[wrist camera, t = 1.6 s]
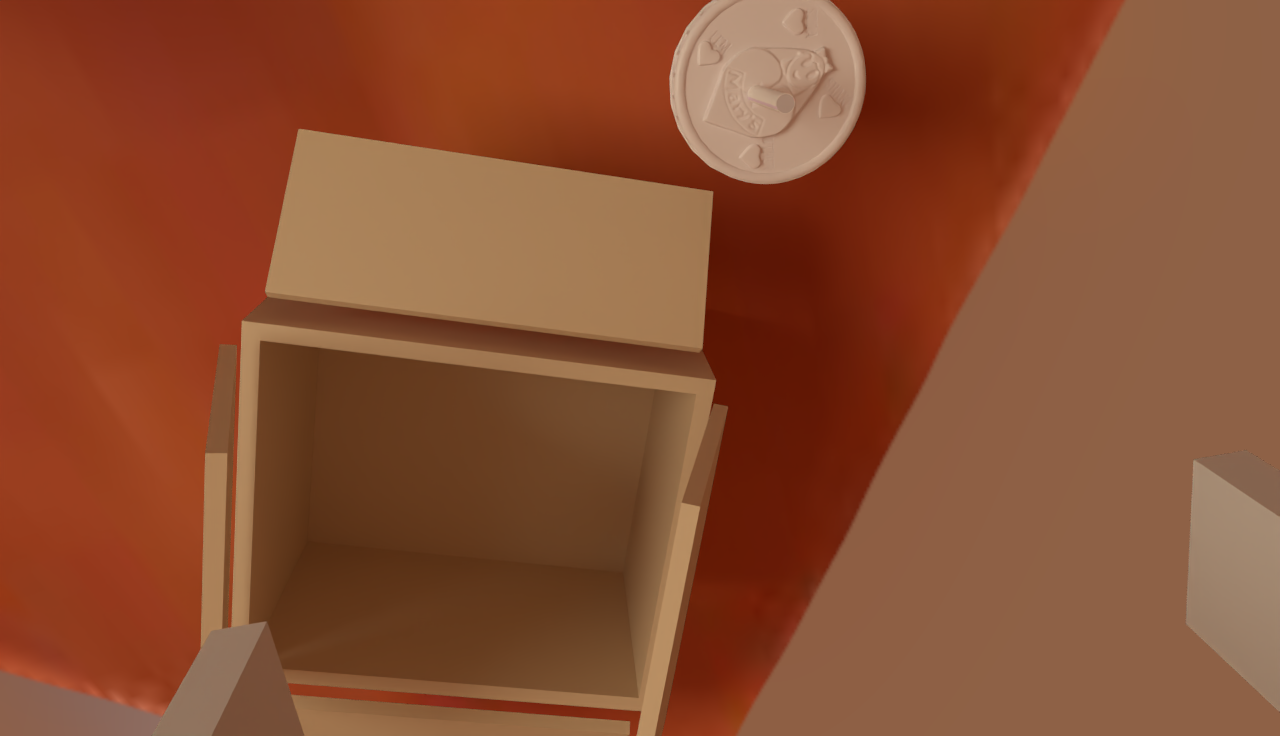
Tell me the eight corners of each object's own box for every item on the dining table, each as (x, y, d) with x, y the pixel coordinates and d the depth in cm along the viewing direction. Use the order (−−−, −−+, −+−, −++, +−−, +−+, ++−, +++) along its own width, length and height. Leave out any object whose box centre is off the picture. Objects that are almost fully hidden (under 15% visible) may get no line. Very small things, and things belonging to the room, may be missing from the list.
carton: (296, 546, 46) (229, 680, 36) (312, 255, 41) (242, 320, 32) (632, 579, 48) (651, 714, 38) (681, 304, 44) (716, 380, 34)
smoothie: (619, 35, 40) (651, 37, 26) (762, -38, 39) (868, -73, 26) (685, 178, 42) (745, 246, 29) (822, 110, 41) (947, 147, 28)
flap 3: (248, 705, 37) (251, 691, 37) (268, 748, 42) (271, 736, 42) (629, 734, 39) (629, 721, 39) (606, 772, 43) (607, 760, 44)
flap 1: (225, 684, 35) (210, 685, 35) (236, 345, 31) (219, 344, 31) (214, 863, 28) (196, 866, 28) (227, 453, 24) (204, 453, 24)
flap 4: (608, 886, 30) (623, 890, 30) (681, 502, 26) (700, 506, 26) (652, 718, 37) (664, 721, 37) (713, 403, 33) (728, 406, 33)
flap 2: (298, 129, 33) (301, 136, 34) (264, 291, 32) (267, 297, 32) (713, 191, 35) (709, 197, 36) (702, 348, 34) (699, 352, 34)
